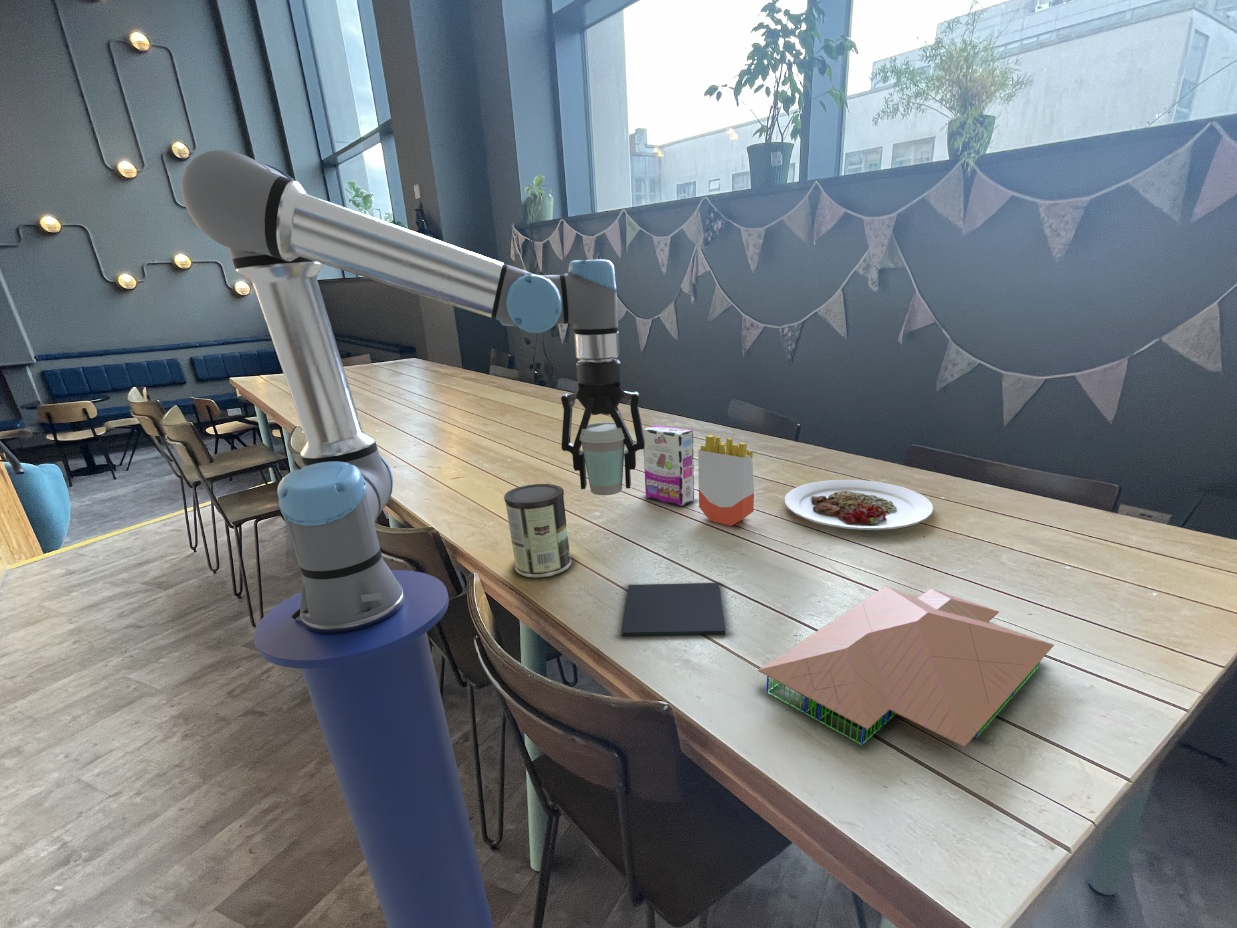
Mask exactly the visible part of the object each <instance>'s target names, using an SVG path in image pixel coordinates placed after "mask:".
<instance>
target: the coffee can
mask: <svg viewBox="0 0 1237 928" xmlns="http://www.w3.org/2000/svg"><path fill="white" fill-rule="evenodd" d="M564 495H565V490H564V488H563V487H562V486H559V485H557V484H552V483H551V484H550V483H534V484H527V485H522V486H518V487H515V488H513V489H510V490H508V491H506V493H505V494H504V495H503V499H504V502H505V507H506V514H507V519H508V526H509V533H510V540H511V545H512V546H511V547H512V552H513V558H514V559H513V560H514V566H515V569H514V570H515V572H516V573H517V574H519V575H520V576H523V577H527V578H536V579H537V578H547V577H552V576H557V575H558V574H561V573H563V572H565V571H566V570H568V569H569V568H570V567H571V565H572V558H571V551H570V542H569V535H568V534H569V533H568V526H567V516H566V507H565V499H564Z"/></svg>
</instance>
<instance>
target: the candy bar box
mask: <svg viewBox="0 0 1237 928" xmlns="http://www.w3.org/2000/svg"><path fill="white" fill-rule="evenodd" d="M642 429H643V434H644V440H645V446H644V449H643V467H644V469H643V470H644V485H645V487H644V489H645V498H647V499H651V500H654V501H659V502H663V503H668V504H671V505H676V506H680V507H683V506H685V505H687V504H690V503H693V502H695V478H694V477H695V476H694V475H695V474H694V473H695V471H694V470H695V469H694V468H695V467H694V430H691V429H684V428H676V427H670V426H663V425H652V426H649V427H646V428H642Z"/></svg>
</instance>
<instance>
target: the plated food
mask: <svg viewBox="0 0 1237 928" xmlns="http://www.w3.org/2000/svg"><path fill="white" fill-rule="evenodd" d="M784 505H785V506H786V508H787V509H788V510H789V511H790V512H792V513H793V514H794V515H796V516H798V517H800V518H802V519H805V520H807V521H810V522H813V523H816V524H821V525H825V526H829V527H833V528H834V527H835V528H841V529H847V530H857V531H859V530H861V531H879V530H880V531H883V530H894V529H901V528H906V527H911V526H914V525H918V524H919V523H922V522H924V521H926V520H927V519H929V518H930V517H931V516H932V513H933V511H934V507H933V503H932V502H931V501H930V500H929V499H928V498H927V497H925V496H924V495H923V494H921V493H919V492H917V491H915V490H912V489H909V488H906V487H904V486H900V485H896V484H892V483H887V482H881V481H875V480H866V479H865V480H863V479H827V480H820V481H819V480H818V481H814V482H808V483H804V484H801V485H799V486H796V487H795V488H792V489H790V491H788V492H787V493H786V494H785V496H784Z"/></svg>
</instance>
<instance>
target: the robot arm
mask: <svg viewBox="0 0 1237 928" xmlns="http://www.w3.org/2000/svg"><path fill="white" fill-rule="evenodd" d="M180 188H181V195H182V196H181V197H182V201H183V204H184V206H185V208H186V211H187V213H188V214H189V216H190V218H191V219H192V221H193V222H194V224H195V225H196V226H197V227H198V228H199V230H200V231H202V232H203V233H204V234H205V235H207V237H208V238H210V239H212V240H213V241H215V242H216V243H218V244H220V245H221V246H224V247H226V248H227V249H228V251H229V254H230V257H231V260H232V263H233V266H234V269H235V271H236V273H237V274H239V275H241V276H242V277H244V278H245V279H246V280H247V281H249V282H250V283H251V284H252V286H253V288H254V291H255V294H256V297H257V300H258V302H259V306H260V308H261V312H262V314H263V318H264V320H265V323H266V326H267V330H268V332H269V335H270V338H271V341H272V345H273V347H274V349H275V352H276V355H277V358H278V361H279V365H280V367H281V370H282V373H283V376H284V379H285V381H286V386H287V388H288V390H289V391H288V392H289V394H290V397H291V399H292V402H293V405H294V408H295V412H296V414H297V417H298V420H299V423H300V426H301V429H302V432H303V434H304V438H305V440H306V442H305V444H304V446H303V447H302V448H301V451H300V452H299V455H300V458H301V460H302V463H303V466H301V468H300V469H294V470H292V471H291V472H289V473H288V474H286V475H285V476H283V478H282V479H281V480H280V481H279V483H278V485H277V489H276V490H277V491H276V492H277V497H278V504H279V506H278V507H279V510H280V513H281V514H282V516H283V520H284V523H285V526H286V529H287V533H288V535H289V538H290V542H291V544H292V548H293V551H294V555H295V558H296V560H297V564H298V566H299V570H300V574H301V576H302V581H301V582H302V584H301V592H302V594H301V607H300V609H298V610H297V611H296V612H295V613H294V614H293V615H292V616H291V617H292V618H293V619H296V618H297V617H298V616H300V615H301V618H302V621H303V624H304V626H305V628H306V629H308V630H309V631H311V632H314V633H319V634H343V633H349V632H354V631H358V630H362V629H365V628H368V627H371V626H374V625H376V624H379V623H381V622H383V621H385V620H387V619H388V618H390V617H391V616H393V615H394V614H395V613H397V612H398V611H399V610H400V609H401V608H402V606H403V604H404V602H405V597H404V593H403V589H402V587H401V585H400V584H399V582H398V581H397V580H396V578H395V576H394V575H393V573H392V572H391V569H390V567H389V566H388V564H387V563H386V561H385V559H384V558H383V554H382V551H381V550H382V549H381V546H380V542H379V538H378V533H377V529H376V526H375V522H376V521H377V519H378V518H379V516H380V515H381V513H382V511H383V510H384V509H385V507H386V506H387V504H388V503H389V501H390V499H391V497H392V494H393V487H394V477H393V473H392V470H391V467H390V465H389V464H388V462H387V461H386V459H385V458H384V457H383V456H381V454H380V452H379V449H378V445H377V441H376V440H375V437H373V436H371V435H369V434H368V433H366V432H364V430H363V428H362V425H361V421H360V418H359V415H358V411H357V408H356V405H355V402H354V398H353V395H352V391H351V388H350V384H349V381H348V378H347V375H346V372H345V368H344V365H343V362H342V358H341V355H340V352H339V349H338V345H337V342H336V337H335V334H334V332H333V328H332V324H331V321H330V318H329V315H328V312H327V308H326V305H325V301H324V298H323V294H322V292H321V288H320V285H319V282H318V281H319V280H318V279H317V278H318V275H319V273H320V271H321V269H322V268H323V266H324V265H325V266H329V267H331V268H335V269H338V270H341V271H343V272H347V273H350V274H352V275H353V274H354V275H356V276H360V277H363V278H366V279H370V280H372V281H376V282H378V283H382V284H385V285H388V286H391V287H394V288H398V289H401V290H403V291H406V292H409V293H413V294H415V295H419V296H422V297H425V298H429V299H432V300H435V301H438V302H440V303H444V304H447V305H450V306H454V307H457V308H460V309H462V310H466V311H468V312H469V311H470V312H471V313H476V314H478V315H482V316H485V317H488V318H491V319H495V320H496V321H499V322H500V324H501V325H502V326H505V327H516V328H519V330H521V331H523V332H527V333H531V334H542V333H545V332H547V331H549V330H550V329H552V328H554V327H555V325H568V324H572V325H573V339H574V352H575V357H576V359H578V361H577V362H576V365H575V366H576V379H577V388H576V391H575V392H572V393H567V392H566V393H564V394H563V395H562V396H561V397H560V401H561V404H562V408H563V417H562V430H561V431H562V432H561V447H560V448H561V450H562V451H563V452H568V453H570V454H571V455H572V467H573V470H574V471H575V472H579V483H580V490H586V488H587V485H588V481H587V479H588V478H587V469H586V464H585V458H584V453H583V450H581V447H582V442H581V440H579V439H580V435H581V430H582V429H587V427H588V424H590V421H591V418H592V416H597V415H605V416H610V418H611V419H612V421H613V423H615V424H616V426H617V428H621V429H622V432H623V434H624V438H625V439H623V441H624V443H625V448H626V449H624V478H625V489H631V486H632V478H631V477H632V476H631V471H633V470H634V471H635V470H636V468H637V467H636V466H637V455H636V453H637V452H638V451H640V450H644V446H645V440H644V434H643V429H644V428H643V424H642V420H641V413H640V409H639V400H640V393H639V392H638V391H633V392H631V391H626V390H625V389H624V388H623V385H622V372H621V361H620V360H619V359H618V357H619V356H620V355H621V351H620V349H621V348H620V333H619V314H618V313H619V312H618V288H617V281H616V271H615V265H614V264H613V263H612V261H611V260H609V259H585V260H584V259H580V260H571V261H570V262H569V263H568V270H567V273H561V274H539V273H536V272H535V273H534V272H530V271H527V270H524V269H522V268H519V267H516V266H513V265H510V264H506V263H504V262H502V261H499V260H496V259H493V258H490V257H487V256H484V255H482V254H480V253H476V252H474V251H470V250H467V249H465V248H461V247H459V246H456V245H454V244H450V243H447V242H445V241H442V240H440V239H436V238H433V237H431V236H428V235H425V234H423V233H419V232H417V231H414V230H410V229H408V228H405V227H402V226H399V225H396V224H394V223H390V222H388V221H384V220H382V219H379V218H377V217H373V216H371V215H367V214H364V213H362V212H359V211H356V210H353V209H351V208H348V207H345V206H342V205H339V204H337V203H334V202H332V201H331V202H330V201H328V200H325V199H322V198H320V197H316V196H313V195H311V194H308V193H307V191H306V190H305V189H304V187H303V186H302V184H301V183H300V182H299V181H297V180H294V178H292V176H290V175H289V174H287V173H286V172H284V171H283V170H281V169H279V168H277V167H274V166H272V165H270V164H266V163H263V162H260V161H258V160H255V159H254V158H251V157H249V156H247V155H245V154H242V153H240V152H236V151H233V150H228V149H227V150H226V149H215V150H211V151H210V150H208V151H204V152H203V153H201V154H198V155H197V156H196V157H194V158H193V159H192V160H191V161H190V162H189V164H188V165H186V168H185V169H184V172H183V175H182V177H181V187H180ZM623 399H625V401H626V404H627V406H630V414H631V419H632V424H633V430H634V434H635V440H636V441H635V442H634V439H633V438H632V436H631V434H630V431H629V429H628V426H627V424H626V423H625V421H624V419H623V416H622V413H621V411H620V409H619V405H620V403H621V402H622V400H623ZM576 400H577V401H578V402H579V403H580V404H581V405H582V407H583V408H584V412H583V414H582V417H581V420H580V424H579V427H578V430H577V433H576V436H575V439H574V442H573V443H571V439H572V437H571V436H572V424H573V423H572V422H573V408H574V406H575V404H576Z"/></svg>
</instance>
